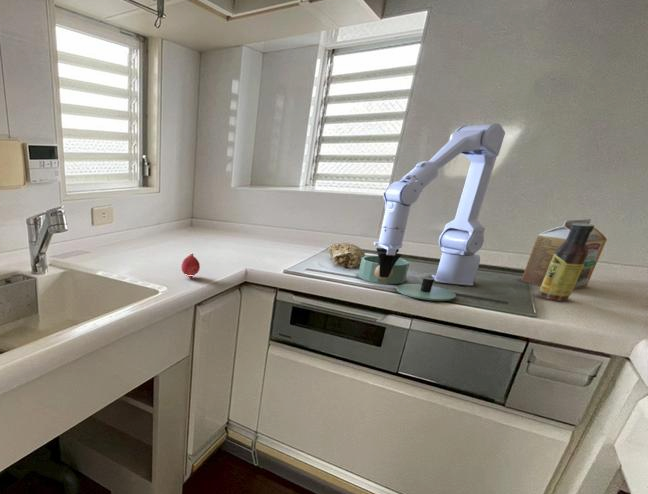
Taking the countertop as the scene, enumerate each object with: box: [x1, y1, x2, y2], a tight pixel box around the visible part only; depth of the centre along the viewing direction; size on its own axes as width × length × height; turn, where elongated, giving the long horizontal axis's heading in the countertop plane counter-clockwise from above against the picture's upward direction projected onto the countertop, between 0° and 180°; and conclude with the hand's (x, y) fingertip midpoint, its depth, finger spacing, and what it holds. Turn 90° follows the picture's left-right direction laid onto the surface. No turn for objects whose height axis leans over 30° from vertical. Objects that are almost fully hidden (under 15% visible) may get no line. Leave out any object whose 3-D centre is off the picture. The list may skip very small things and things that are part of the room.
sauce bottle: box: [538, 223, 595, 302], centre depth 105 cm, size 6×6×20 cm
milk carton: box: [520, 218, 608, 290], centre depth 118 cm, size 11×11×19 cm
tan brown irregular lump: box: [327, 242, 366, 269], centre depth 147 cm, size 13×8×20 cm
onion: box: [181, 252, 201, 279], centre depth 128 cm, size 6×6×8 cm
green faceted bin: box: [357, 255, 410, 285], centre depth 127 cm, size 13×13×6 cm
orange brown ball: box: [375, 265, 393, 280], centre depth 117 cm, size 5×5×5 cm
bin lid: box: [395, 276, 457, 302], centre depth 112 cm, size 14×14×5 cm
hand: (383, 274), depth 117 cm, fingers closed on orange brown ball, 4 cm apart
